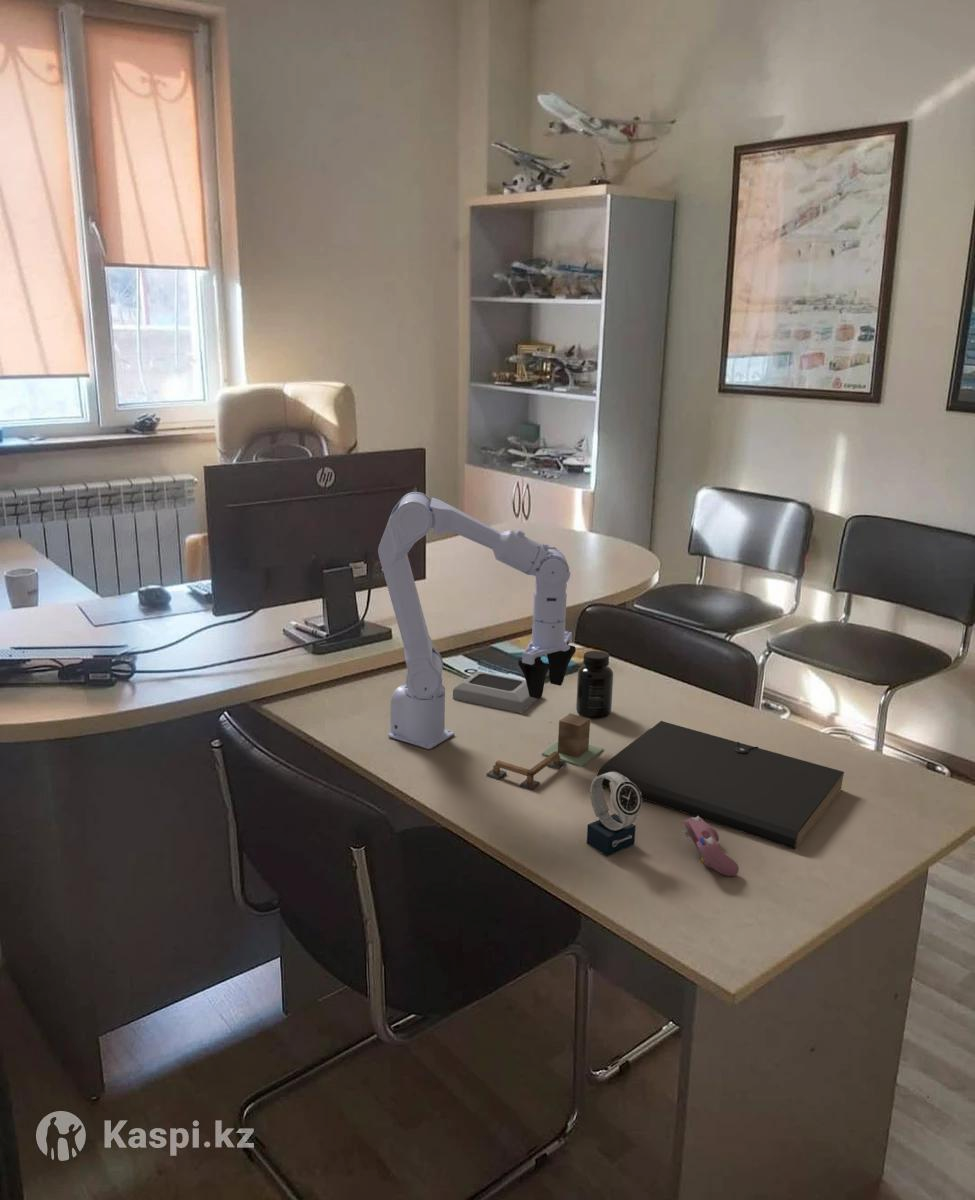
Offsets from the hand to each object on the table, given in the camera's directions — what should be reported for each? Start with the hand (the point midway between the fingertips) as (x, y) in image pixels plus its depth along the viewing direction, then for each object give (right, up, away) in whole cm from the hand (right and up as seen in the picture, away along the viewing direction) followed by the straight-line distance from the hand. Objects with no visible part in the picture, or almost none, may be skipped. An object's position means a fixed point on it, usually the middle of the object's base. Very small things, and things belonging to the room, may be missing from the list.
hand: (545, 690), depth 175 cm
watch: (+8, -20, -32) cm, 38 cm away
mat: (+5, -11, -2) cm, 12 cm away
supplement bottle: (+10, -6, +15) cm, 19 cm away
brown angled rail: (-4, -13, -9) cm, 16 cm away
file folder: (+28, -15, -13) cm, 34 cm away
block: (+5, -10, -3) cm, 12 cm away
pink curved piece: (+21, -21, -35) cm, 46 cm away
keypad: (-9, -4, +21) cm, 23 cm away
